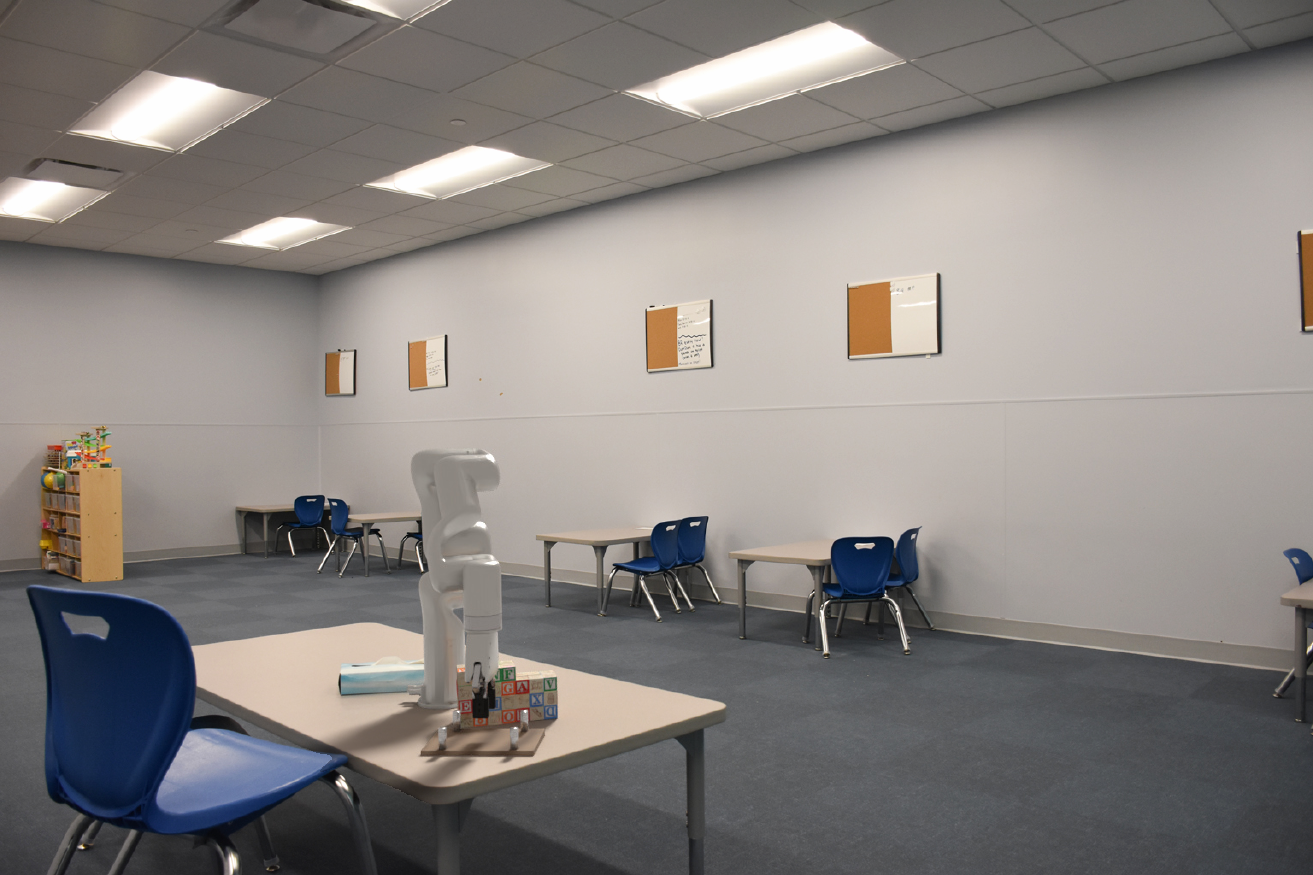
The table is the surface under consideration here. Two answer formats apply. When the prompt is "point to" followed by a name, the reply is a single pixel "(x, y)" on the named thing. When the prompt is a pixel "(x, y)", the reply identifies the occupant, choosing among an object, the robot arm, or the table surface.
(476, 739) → the pin board
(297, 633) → the table surface
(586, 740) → the table surface
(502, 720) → the stack of blocks
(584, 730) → the table surface
